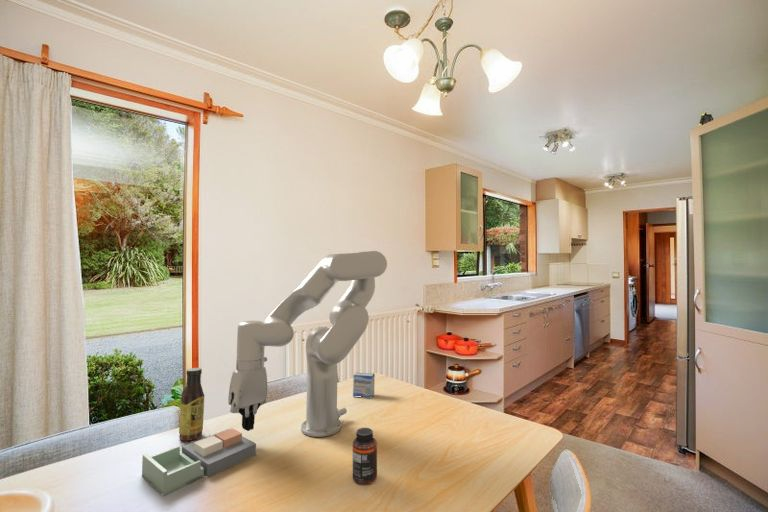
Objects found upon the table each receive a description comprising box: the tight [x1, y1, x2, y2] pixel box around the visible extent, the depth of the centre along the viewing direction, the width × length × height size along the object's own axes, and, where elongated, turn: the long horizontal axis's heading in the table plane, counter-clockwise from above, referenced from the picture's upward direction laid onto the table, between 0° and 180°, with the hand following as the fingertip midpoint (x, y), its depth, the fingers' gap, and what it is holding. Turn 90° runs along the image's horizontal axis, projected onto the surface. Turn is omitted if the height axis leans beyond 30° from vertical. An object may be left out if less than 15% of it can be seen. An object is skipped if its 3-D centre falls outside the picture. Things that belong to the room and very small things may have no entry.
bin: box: [141, 445, 205, 496], centre depth 86 cm, size 9×12×5 cm
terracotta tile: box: [214, 427, 243, 448], centre depth 97 cm, size 5×5×2 cm
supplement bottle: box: [352, 427, 378, 486], centre depth 86 cm, size 6×6×11 cm
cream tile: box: [193, 435, 223, 457], centre depth 93 cm, size 5×5×2 cm
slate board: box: [181, 428, 257, 478], centre depth 95 cm, size 13×14×3 cm
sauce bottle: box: [178, 367, 205, 442], centre depth 106 cm, size 6×6×20 cm
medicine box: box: [352, 371, 376, 398], centre depth 141 cm, size 8×4×9 cm, turn 81°
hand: (247, 428), depth 102 cm, fingers closed
